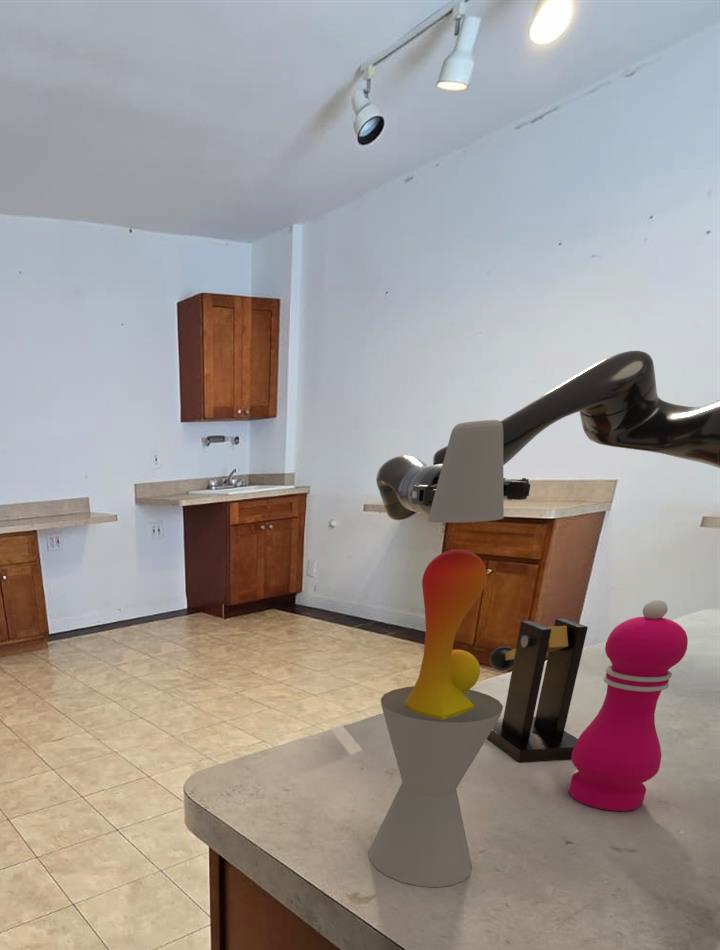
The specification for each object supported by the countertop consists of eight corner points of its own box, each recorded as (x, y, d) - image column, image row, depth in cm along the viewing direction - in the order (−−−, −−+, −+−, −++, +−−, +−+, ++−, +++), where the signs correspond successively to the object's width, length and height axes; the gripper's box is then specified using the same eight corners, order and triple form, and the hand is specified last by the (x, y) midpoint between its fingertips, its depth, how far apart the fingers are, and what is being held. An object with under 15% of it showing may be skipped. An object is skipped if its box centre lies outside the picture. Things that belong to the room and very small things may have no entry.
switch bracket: (476, 731, 83) (495, 617, 77) (538, 727, 83) (562, 612, 77) (518, 762, 74) (543, 636, 68) (587, 758, 74) (619, 631, 68)
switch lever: (485, 674, 85) (483, 650, 85) (510, 672, 84) (507, 648, 85) (545, 651, 72) (542, 623, 72) (573, 649, 71) (571, 621, 72)
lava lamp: (430, 901, 52) (503, 415, 37) (345, 854, 59) (378, 429, 44) (496, 863, 56) (585, 412, 41) (408, 823, 63) (458, 426, 49)
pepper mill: (658, 818, 61) (724, 608, 53) (571, 809, 64) (621, 607, 55) (635, 785, 67) (691, 592, 59) (556, 778, 70) (599, 592, 61)
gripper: (397, 467, 98) (443, 465, 83) (490, 460, 97) (553, 457, 83) (392, 519, 101) (435, 526, 86) (483, 513, 100) (542, 519, 86)
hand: (493, 493), depth 84 cm, fingers open, 8 cm apart
